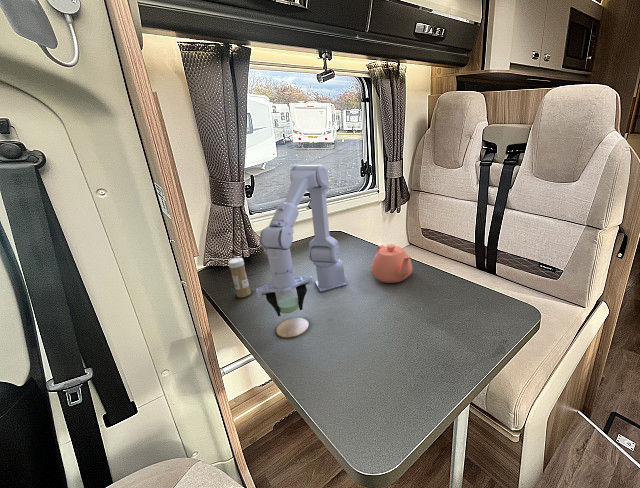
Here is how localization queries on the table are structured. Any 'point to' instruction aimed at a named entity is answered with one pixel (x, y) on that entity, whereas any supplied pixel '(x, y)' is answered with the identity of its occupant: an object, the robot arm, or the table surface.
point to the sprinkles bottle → (239, 277)
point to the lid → (288, 305)
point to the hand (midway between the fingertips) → (289, 311)
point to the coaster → (292, 327)
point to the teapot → (391, 264)
